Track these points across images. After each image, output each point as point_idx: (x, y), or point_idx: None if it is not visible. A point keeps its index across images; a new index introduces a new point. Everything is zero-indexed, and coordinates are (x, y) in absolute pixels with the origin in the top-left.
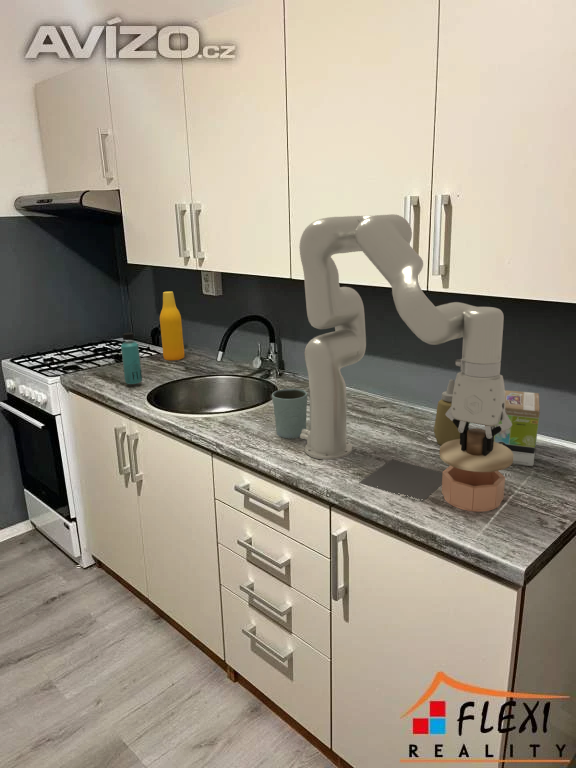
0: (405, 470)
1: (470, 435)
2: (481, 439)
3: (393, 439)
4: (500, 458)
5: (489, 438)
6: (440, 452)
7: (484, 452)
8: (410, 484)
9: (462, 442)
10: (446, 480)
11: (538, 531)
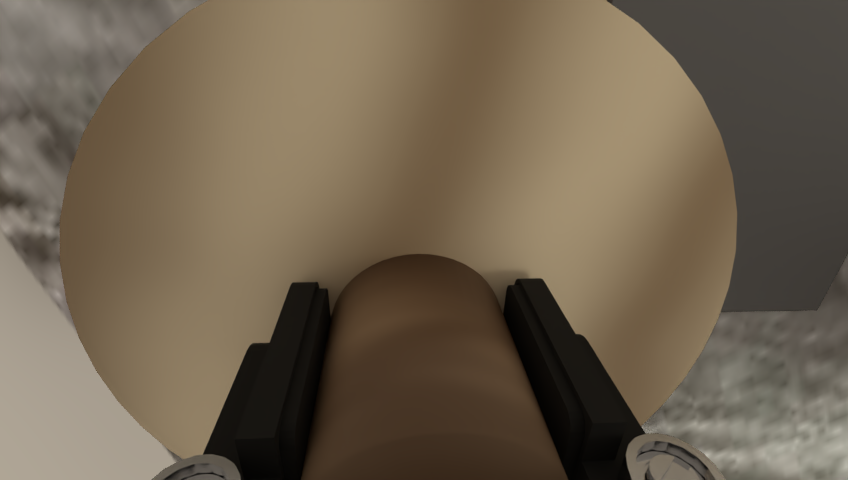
0: (750, 249)
1: (488, 416)
2: (328, 416)
3: (819, 443)
4: (168, 313)
5: (191, 458)
6: (722, 141)
7: (296, 297)
8: None
9: (560, 328)
10: None
11: (18, 53)
